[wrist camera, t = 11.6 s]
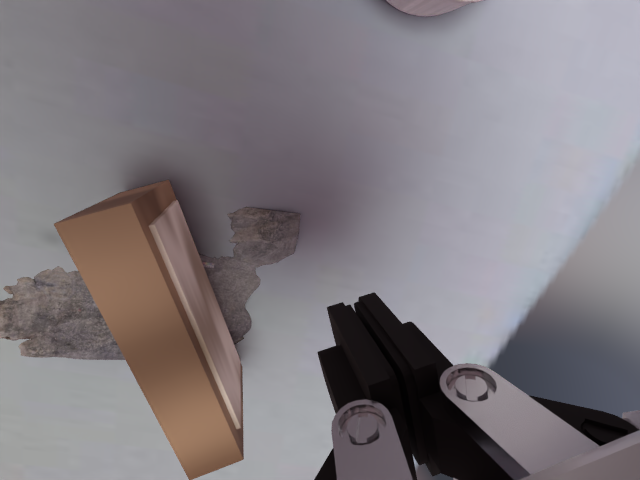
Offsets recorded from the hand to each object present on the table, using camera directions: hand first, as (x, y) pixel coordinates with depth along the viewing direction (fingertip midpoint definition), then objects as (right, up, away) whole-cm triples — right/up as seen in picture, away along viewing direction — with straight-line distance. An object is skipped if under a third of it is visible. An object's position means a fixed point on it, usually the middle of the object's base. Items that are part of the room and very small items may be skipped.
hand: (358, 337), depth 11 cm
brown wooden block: (-9, +1, +8) cm, 12 cm away
